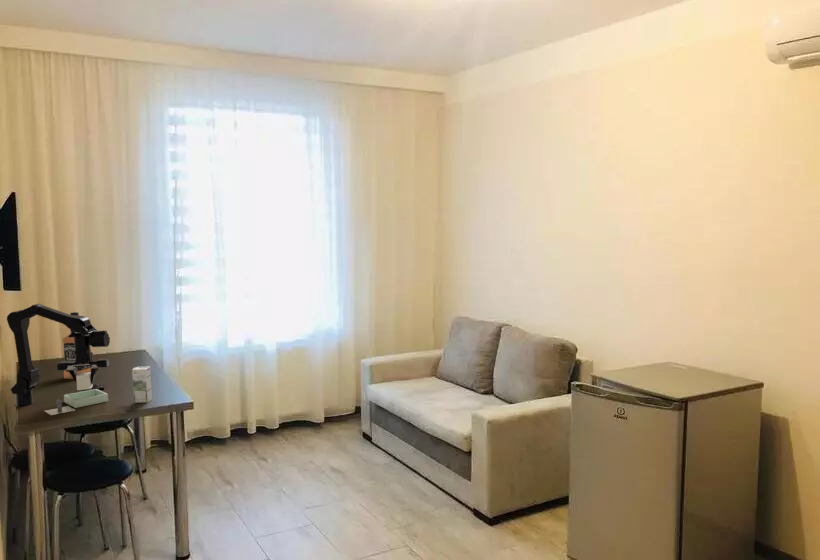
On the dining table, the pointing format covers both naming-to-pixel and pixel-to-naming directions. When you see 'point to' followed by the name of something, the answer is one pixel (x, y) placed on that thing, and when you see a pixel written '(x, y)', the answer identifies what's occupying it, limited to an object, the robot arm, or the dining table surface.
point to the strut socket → (84, 381)
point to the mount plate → (64, 409)
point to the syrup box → (142, 384)
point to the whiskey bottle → (72, 354)
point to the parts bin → (85, 398)
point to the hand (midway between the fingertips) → (84, 384)
